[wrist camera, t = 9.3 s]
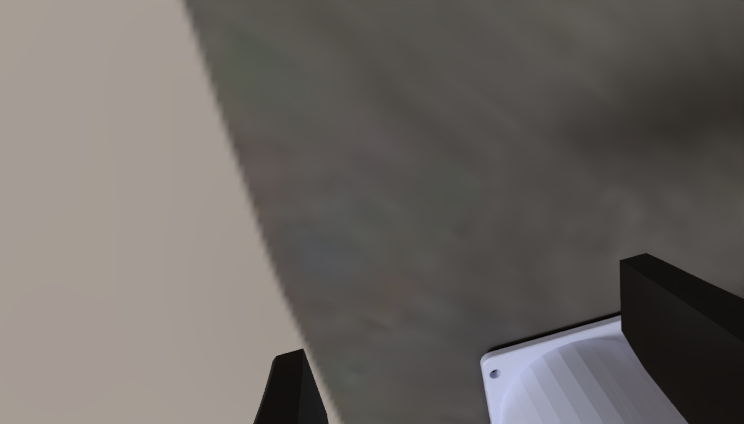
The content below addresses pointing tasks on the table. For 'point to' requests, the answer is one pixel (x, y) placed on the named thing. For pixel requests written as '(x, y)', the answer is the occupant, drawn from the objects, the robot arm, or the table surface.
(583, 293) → the table surface
